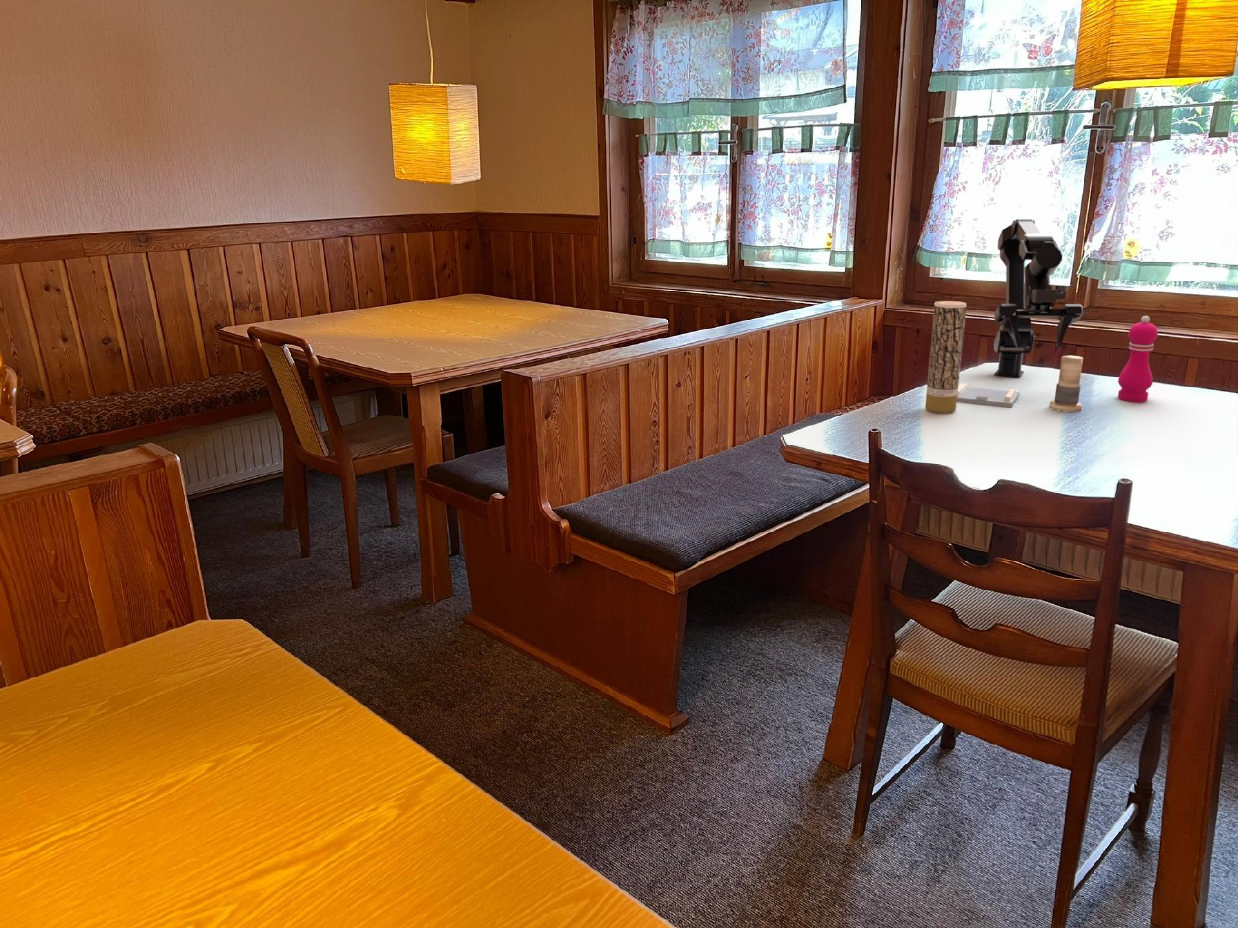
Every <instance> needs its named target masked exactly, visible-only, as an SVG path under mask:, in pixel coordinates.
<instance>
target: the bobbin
mask: <svg viewBox="0 0 1238 928" xmlns="http://www.w3.org/2000/svg"><path fill="white" fill-rule="evenodd" d="M1083 360H1084V358H1083V357H1082V356H1077V355H1062V356H1061V360H1060V368H1059V375H1058V383H1056V386H1055V393H1054V394H1055V395H1054V400H1052V401H1050V402H1049V409H1051V408H1052V409H1051V410H1053V409H1056V410H1055V411H1057V410H1059V411H1058V412H1062V411H1068V412H1067V413H1077V412H1076V411H1078V412H1081V411H1082V408H1083V404H1081V403H1080V402H1079V401H1080V400H1079V399H1080V391H1081V385H1080V383H1081V381H1080V380H1081V374H1082V369H1083Z"/></svg>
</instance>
